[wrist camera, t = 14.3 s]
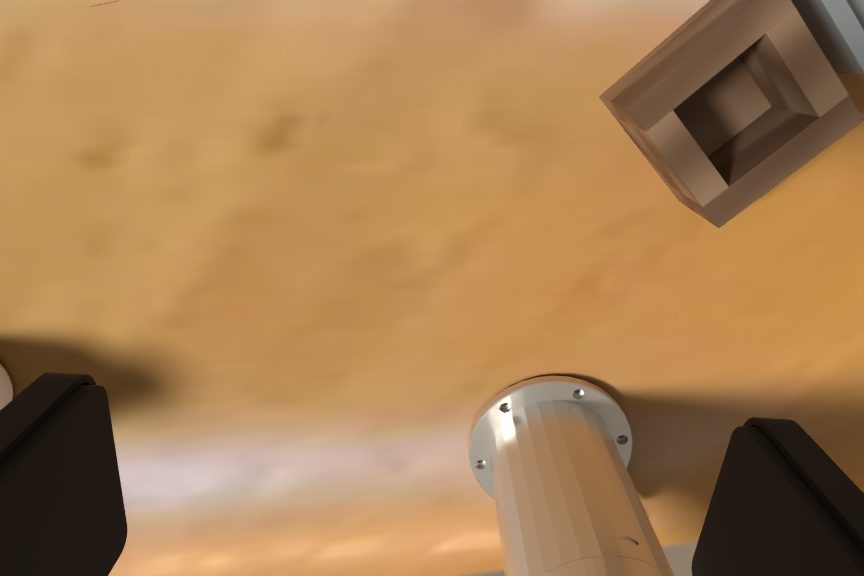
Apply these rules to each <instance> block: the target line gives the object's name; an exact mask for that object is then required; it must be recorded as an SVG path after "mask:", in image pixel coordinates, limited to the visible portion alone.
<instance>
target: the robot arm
mask: <svg viewBox="0 0 864 576" xmlns="http://www.w3.org/2000/svg"><path fill="white" fill-rule="evenodd" d="M632 444H633V439H632V433H631V428H630V425H629V423H628V421H627V418H626V416H625V414H624V412H623V411H622V409H621V407H620V406H619V404H618V403H617V402H616V401H615V400H614V399H613V398H612V397H611V395H610V394H608V393H607V392H605V391H604V390H603V389H601V388H600V387H598V386H596V385H594V384H592V383H589V382H587V381H585V380H581V379H577V378H573V377H568V376H544V377H536V378H532V379H529V380H525V381H521V382H519V383H517V384H515V385H512V386H510V387H508V388H506V389H505V390H503V391H502V392H500V393H499V394H497V395H496V396H494V397H493V398H492V399H491V400H490V401H489V402H488V403H487V404H486V405H485V406H484V407H483V409H482V410H481V412H480V413H479V415H478V416H477V418H476V419H475V422H474V424H473V426H472V429H471V432H470V437H469V443H468V445H469V460H470V466H471V469H472V472H473V474H474V476H475V479H476V481H477V482H478V483H479V485H480V486H481V488H482V489H483V490H484V491H485V492H486V493H487V494H488V495H489V496H490V497H491V498H493V499H494V500H495V503H496V511H497V518H498V526H499V533H500V540H501V548H502V555H503V563H504V570H505V576H674V574H673V572H672V570H671V567H670V565H669V563H668V561H667V558H666V556H665V554H664V552H663V549H662V547H661V545H660V543H659V540H658V538H657V536H656V534H655V531H654V529H653V527H652V525H651V523H650V520H649V518H648V516H647V514H646V511H645V509H644V507H643V505H642V502H641V500H640V498H639V496H638V493H637V491H636V489H635V487H634V485H633V482H632V480H631V478H630V476H629V473H628V471H627V467H628V464H629V461H630V458H631V454H632ZM126 538H127V522H126V516H125V509H124V503H123V496H122V490H121V483H120V476H119V470H118V463H117V457H116V450H115V444H114V437H113V431H112V424H111V417H110V411H109V404H108V398H107V393H106V390H105V389H104V387H102V386H97V385H96V383H95V381H94V379H93V378H92V377H91V376H89V375H82V374H66V373H45V374H43V375H41V376H40V377H38V378H37V379H36V380H35V381H34V382H33V383H32V384H30V385H29V386H28V387H27V388H26V389H25V390H23V391H22V392H21V393H20V394H19V395H18V396H16V397H15V398H14V399H13V400H12V401H11V402H9V403H8V404H7V405H6V406H5V407H4V408H2V409H1V410H0V576H108V575H109V573H110V571H111V570H112V568H113V566H114V565H115V563H116V561H117V560H118V558H119V556H120V555H121V553H122V551H123V548H124V545H125V542H126ZM692 575H693V576H864V493H863V492H862V491H861V490H860V489H859V488H858V487H857V486H856V485H855V484H854V483H853V482H852V481H851V480H850V479H849V477H848V476H847V475H846V474H845V473H844V472H843V471H842V470H841V469H840V468H839V467H838V466H837V465H836V464H835V463H834V462H833V461H832V459H831V458H830V457H829V456H828V455H827V454H826V453H825V452H824V451H823V450H822V449H821V448H820V447H819V446H818V445H817V444H816V443H815V441H814V440H813V439H812V438H811V437H810V436H809V435H808V434H807V433H806V432H805V431H804V430H803V429H802V428H801V427H800V426H799V425H798V424H797V423H796V422H794V421H792V420H785V419H770V418H754V417H753V418H750V419H748V420H747V421H746V422H745V424H744V426H740V427H737V428H736V429H735V430H734V431H733V433H732V436H731V439H730V442H729V445H728V448H727V452H726V455H725V458H724V461H723V464H722V468H721V471H720V474H719V477H718V480H717V483H716V487H715V490H714V493H713V496H712V499H711V503H710V506H709V509H708V512H707V515H706V518H705V522H704V525H703V528H702V531H701V534H700V537H699V541H698V544H697V547H696V550H695V553H694V557H693V561H692Z"/></svg>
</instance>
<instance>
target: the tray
mask: <svg viewBox="0 0 864 576" xmlns="http://www.w3.org/2000/svg"><path fill="white" fill-rule="evenodd" d="M791 1H792V3H793V4H794V6H795V8H796V9H797V11H798V13H799V14H800V16H801V17H802V19H803V21H804V22H805V24H806V26H807V27H808V29H809V30H810V32H811V34H812V35H813V37H814V39H815V40H816V42H817V43H818V45H819V47H820V48H821V50H822V52H823V53H824V55H825V56H826V58H827V60H828V61H829V63H830V65H831V66H832V68H833V69H834V71H835V72H838V73H848V74H858V75H864V0H791Z"/></svg>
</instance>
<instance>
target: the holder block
mask: <svg viewBox="0 0 864 576" xmlns="http://www.w3.org/2000/svg"><path fill="white" fill-rule="evenodd" d="M599 97H600V99H601V100H602V101H603V103H604V104H605V105H606V106H607V108H608V109H609V110H610V112H611V113H612V114H613V116H614V117H615V118H616V119H617V121H618V122H619V123H620V125H621V126H622V127H623V129H624V130H625V131H626V132H627V134H628V135H629V136H630V138H631V139H632V140H633V142H634V143H635V144H636V145H637V147H638V148H639V149H640V151H641V152H642V153H643V155H644V156H645V157H646V158H647V160H648V161H649V162H650V164H651V165H652V166H653V168H654V169H655V170H656V171H657V173H658V174H659V175H660V177H661V178H662V179H663V181H664V182H665V183H666V184H667V186H668V187H669V188H670V190H671V191H672V192H673V194H674V195H675V196H676V197H677V199H678V200H679V201H680V202H681V203H683V204H684V205H686V206H687V207H688V208H690V209H691V210H693V211H694V212H696V213H697V214H699V215H700V216H702V217H703V218H705V219H706V220H708V221H709V222H711V223H712V224H713V225H715V226H716V227H718V228H720V227H721V226H723V225H724V224H725V223H727V222H728V221H729V220H731V219H732V218H733V217H735V216H736V215H737V214H739V213H740V212H741V211H743V210H744V209H745V208H747V207H748V206H749V205H751V204H752V203H753V202H755V201H756V200H757V199H759V198H760V197H761V196H763V195H764V194H765V193H767V192H768V191H769V190H771V189H772V188H773V187H775V186H776V185H777V184H779V183H780V182H781V181H783V180H784V179H785V178H787V177H788V176H789V175H791V174H792V173H793V172H795V171H796V170H797V169H799V168H800V167H801V166H803V165H804V164H805V163H807V162H808V161H809V160H811V159H812V158H813V157H815V156H816V155H817V154H819V153H820V152H821V151H823V150H824V149H825V148H827V147H828V146H829V145H831V144H832V143H834V142H835V141H836V140H838V139H839V138H840V137H842V136H843V135H844V134H846V133H847V132H848V131H850V130H851V129H852V128H854V127H855V126H856V125H858V124H859V123H860V122H862V121H863V120H864V118H863V117H862V115H861V113H860V112H859V110H858V109H857V107H856V105H855V104H854V102H853V100H852V99H851V97H850V96H849V94H848V92H847V91H846V89H845V87H844V86H843V84H842V83H841V81H840V79H839V78H838V76H837V74H836V73H835V71H834V69H833V68H832V66H831V65H830V63H829V61H828V60H827V58H826V56H825V55H824V53H823V52H822V50H821V48H820V47H819V45H818V43H817V42H816V40H815V39H814V37H813V35H812V34H811V32H810V30H809V29H808V27H807V26H806V24H805V22H804V21H803V19H802V17H801V16H800V14H799V13H798V11H797V9H796V8H795V6H794V4H793V3H792V1H791V0H710V1H709V2H708V3H707V4H706V5H705V6H703V7H702V8H701V9H700V10H699V11H698V12H697V13H695V14H694V15H693V16H692V17H691V18H690V19H688V20H687V21H686V22H685V23H684V24H683V25H682V26H680V27H679V28H678V29H677V30H676V31H675V32H673V33H672V34H671V35H670V36H669V37H668V38H666V39H665V40H664V41H663V42H662V43H661V44H660V45H658V46H657V47H656V48H655V49H654V50H653V51H651V52H650V53H649V54H648V55H647V56H646V57H645V58H643V59H642V60H641V61H640V62H639V63H638V64H636V65H635V66H634V67H633V68H632V69H631V70H630V71H628V72H627V73H626V74H625V75H624V76H623V77H621V78H620V79H619V80H618V81H617V82H616V83H615V84H613V85H612V86H611V87H610V88H609V89H608V90H606V91H605V92H604V93H603V94H602V95H601V96H599Z"/></svg>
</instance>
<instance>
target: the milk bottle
mask: <svg viewBox="0 0 864 576" xmlns="http://www.w3.org/2000/svg"><path fill="white" fill-rule="evenodd" d="M12 399H13V386H12V383H11V380H10V377H9V375H8V374H7V372H6V370H5V368H4V367H3V366H2V365H1V364H0V410H1V409H2V408H4V407H5V406H6V405H7V404H8V403H9V402H11V401H12Z"/></svg>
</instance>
